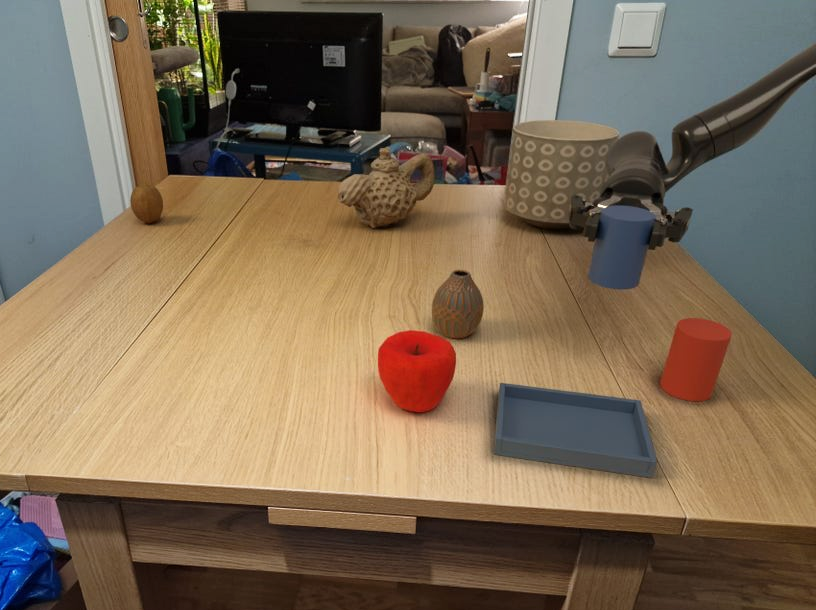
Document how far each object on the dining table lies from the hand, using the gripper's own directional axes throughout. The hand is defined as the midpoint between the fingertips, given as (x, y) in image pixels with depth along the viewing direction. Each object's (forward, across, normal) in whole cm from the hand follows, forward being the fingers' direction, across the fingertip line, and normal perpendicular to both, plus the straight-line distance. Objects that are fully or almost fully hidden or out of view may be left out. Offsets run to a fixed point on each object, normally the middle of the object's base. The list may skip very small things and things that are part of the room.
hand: (622, 237), depth 72 cm
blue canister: (-2, 0, -6) cm, 6 cm away
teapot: (-45, +44, -18) cm, 65 cm away
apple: (+14, +18, -18) cm, 29 cm away
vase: (-5, +18, -18) cm, 26 cm away
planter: (-59, +14, -18) cm, 64 cm away
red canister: (-2, -10, -18) cm, 21 cm away
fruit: (-26, +87, -18) cm, 93 cm away
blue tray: (+13, +1, -18) cm, 22 cm away
